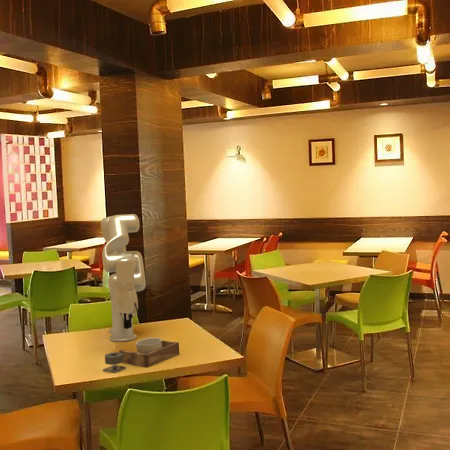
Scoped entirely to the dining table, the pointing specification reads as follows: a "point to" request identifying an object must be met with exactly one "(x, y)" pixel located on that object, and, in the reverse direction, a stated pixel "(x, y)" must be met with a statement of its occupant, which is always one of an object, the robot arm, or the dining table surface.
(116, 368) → the axle mount
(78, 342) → the dining table surface
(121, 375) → the dining table surface
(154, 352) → the bay
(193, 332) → the dining table surface
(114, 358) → the wheel
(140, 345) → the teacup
